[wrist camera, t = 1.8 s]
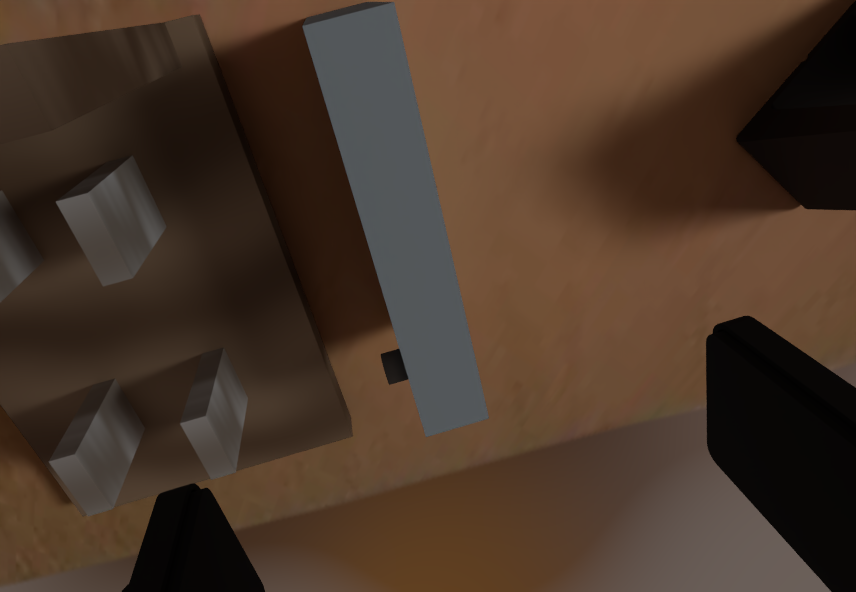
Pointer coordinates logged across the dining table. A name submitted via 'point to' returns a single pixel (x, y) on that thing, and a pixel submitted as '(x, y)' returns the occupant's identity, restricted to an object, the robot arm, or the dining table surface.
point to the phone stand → (813, 124)
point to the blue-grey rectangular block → (398, 208)
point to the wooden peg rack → (146, 273)
